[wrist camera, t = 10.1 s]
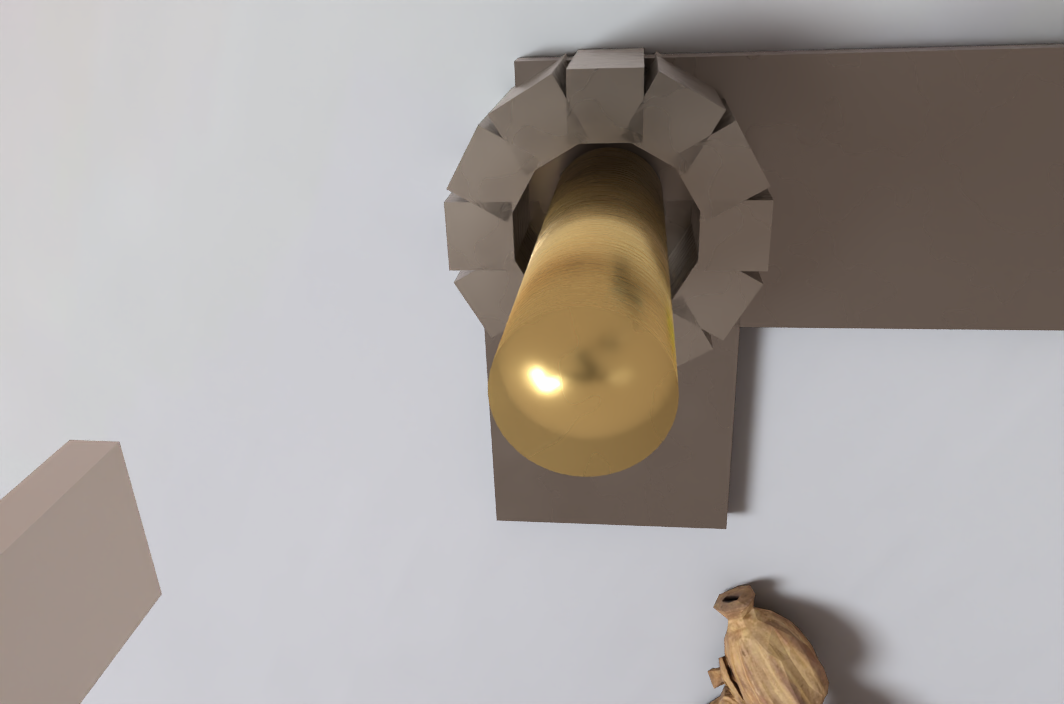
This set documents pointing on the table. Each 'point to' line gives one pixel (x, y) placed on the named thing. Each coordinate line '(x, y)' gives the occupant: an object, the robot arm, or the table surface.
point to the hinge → (773, 220)
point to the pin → (592, 325)
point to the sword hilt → (764, 656)
